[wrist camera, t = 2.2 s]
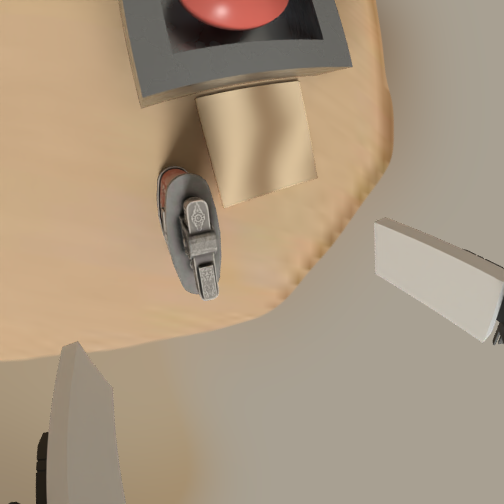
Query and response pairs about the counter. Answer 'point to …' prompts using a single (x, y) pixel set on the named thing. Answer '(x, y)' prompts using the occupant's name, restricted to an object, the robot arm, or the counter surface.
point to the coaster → (257, 140)
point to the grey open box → (227, 48)
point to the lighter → (190, 230)
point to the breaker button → (235, 12)
